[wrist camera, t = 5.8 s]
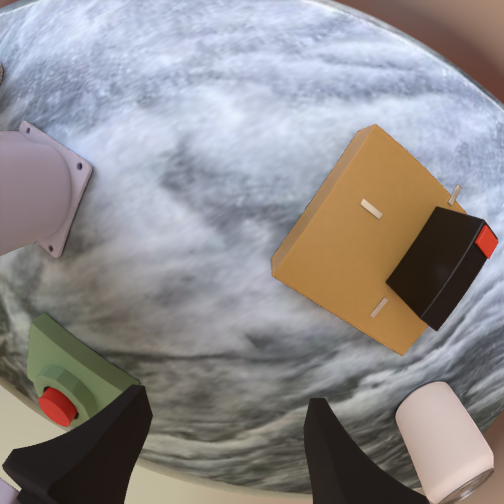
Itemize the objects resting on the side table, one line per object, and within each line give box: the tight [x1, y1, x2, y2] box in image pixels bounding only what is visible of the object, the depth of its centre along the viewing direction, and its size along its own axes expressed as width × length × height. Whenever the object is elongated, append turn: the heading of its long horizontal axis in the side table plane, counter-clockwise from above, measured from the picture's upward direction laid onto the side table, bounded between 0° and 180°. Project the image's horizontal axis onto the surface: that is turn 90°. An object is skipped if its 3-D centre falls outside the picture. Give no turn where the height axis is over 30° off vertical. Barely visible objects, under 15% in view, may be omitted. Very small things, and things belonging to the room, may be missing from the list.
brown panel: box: [271, 124, 468, 356], centre depth 16 cm, size 11×11×3 cm
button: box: [39, 387, 77, 426], centre depth 18 cm, size 4×4×2 cm
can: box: [395, 381, 496, 504], centre depth 16 cm, size 6×6×12 cm
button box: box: [27, 312, 140, 427], centre depth 20 cm, size 11×9×4 cm
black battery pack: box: [385, 206, 498, 331], centre depth 12 cm, size 6×2×5 cm, turn 147°
